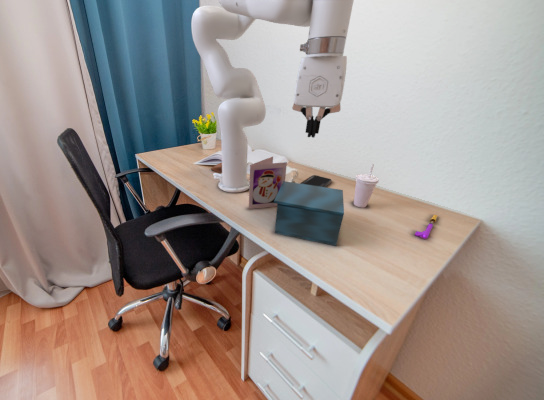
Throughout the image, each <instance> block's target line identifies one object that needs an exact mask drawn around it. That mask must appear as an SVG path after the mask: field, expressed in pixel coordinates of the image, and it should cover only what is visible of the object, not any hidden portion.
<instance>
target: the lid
mask: <svg viewBox="0 0 544 400" xmlns="http://www.w3.org/2000/svg"><path fill="white" fill-rule="evenodd" d="M300 183H301V182H292V181H286V180H285V181H283V183H282V185H281V187H280V189H279V192H278V194H277V196H276V198H275V200H274V203H276V204H281V205H287V206H292V207H298V208H303V209H309V210H314V211H320V212H325V213H330V214H336V215H341V216H343V217H344V215H345V202H344V189H339V188H333V187H327V186H326V187H320V186H313V185H306V184H300Z"/></svg>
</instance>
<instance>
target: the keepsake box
mask: <svg viewBox="0 0 544 400" xmlns="http://www.w3.org/2000/svg"><path fill="white" fill-rule="evenodd" d="M275 213H276V215H275V225H274V234H277V235H282V236H286V237H291V238H296V239H301V240H306V241H311V242H314V243H320V244H325V245H330V246H335V247H337V244H338V240H339V236H340V232H341V228H342V225H343V224H342V223H343V219H344V216H341V215H336V214H330V213H325V212H320V211H314V210H309V209H303V208H298V207H292V206H287V205H281V204H277V206H276V212H275Z"/></svg>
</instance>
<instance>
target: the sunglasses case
mask: <svg viewBox="0 0 544 400" xmlns="http://www.w3.org/2000/svg"><path fill="white" fill-rule="evenodd" d="M210 169H211V170H212V171H213V172H214V173H219V174H221V173H222V161H221V162H219V163H217V164H215V165H213V166H212V167H211V168H210Z"/></svg>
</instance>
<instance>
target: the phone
mask: <svg viewBox="0 0 544 400" xmlns="http://www.w3.org/2000/svg"><path fill="white" fill-rule="evenodd" d="M299 183H300V184H306V185H313V186H320V187H326V188H327V186H328V185H331V183H332V179H331V178H328V177H325V176H320V175H316V174H313V175H311V176H309V177H308V178H306V179H305V180H303V181H302V182H299Z"/></svg>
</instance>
